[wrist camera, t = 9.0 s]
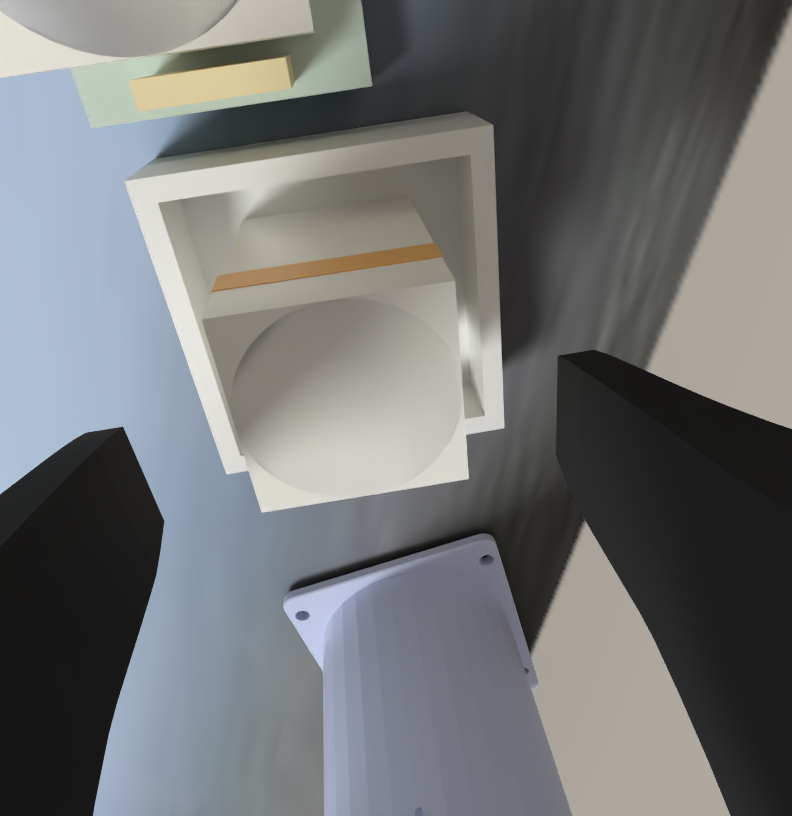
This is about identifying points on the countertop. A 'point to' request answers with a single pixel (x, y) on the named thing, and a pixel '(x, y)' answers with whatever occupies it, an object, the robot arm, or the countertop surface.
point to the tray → (320, 188)
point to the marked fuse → (340, 354)
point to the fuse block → (232, 72)
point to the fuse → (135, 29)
